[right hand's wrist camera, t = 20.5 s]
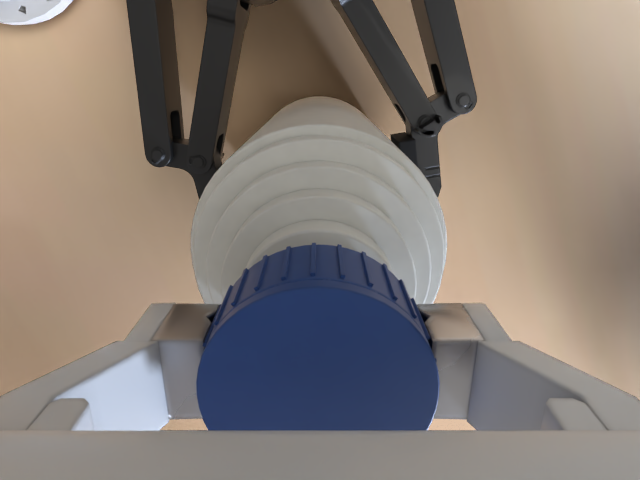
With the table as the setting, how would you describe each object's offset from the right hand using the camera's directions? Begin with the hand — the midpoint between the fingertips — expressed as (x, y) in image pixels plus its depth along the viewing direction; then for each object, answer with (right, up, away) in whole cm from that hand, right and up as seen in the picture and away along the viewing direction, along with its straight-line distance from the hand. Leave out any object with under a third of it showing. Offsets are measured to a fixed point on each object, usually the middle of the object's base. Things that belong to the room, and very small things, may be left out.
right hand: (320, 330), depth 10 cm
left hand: (+1, 0, +14) cm, 15 cm away
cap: (0, -1, -2) cm, 2 cm away
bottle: (0, +7, +19) cm, 20 cm away
